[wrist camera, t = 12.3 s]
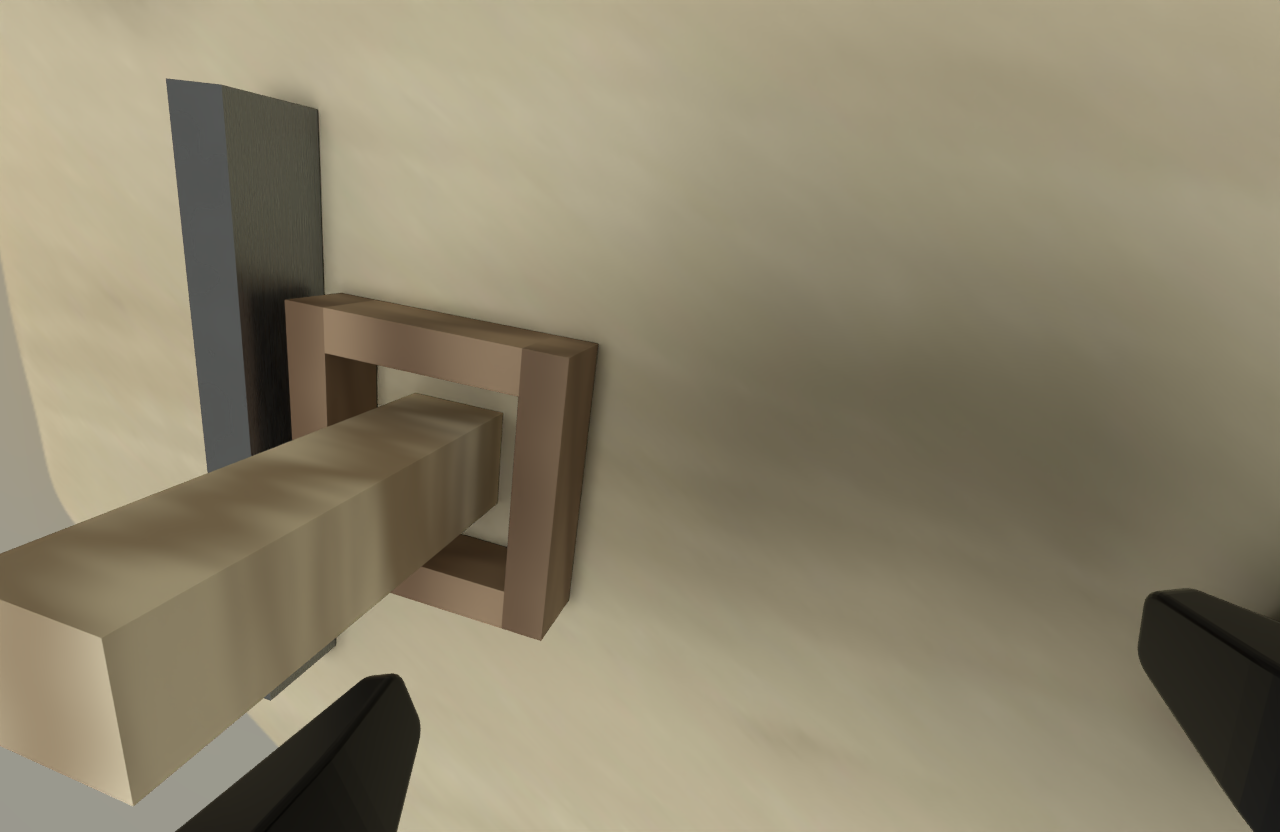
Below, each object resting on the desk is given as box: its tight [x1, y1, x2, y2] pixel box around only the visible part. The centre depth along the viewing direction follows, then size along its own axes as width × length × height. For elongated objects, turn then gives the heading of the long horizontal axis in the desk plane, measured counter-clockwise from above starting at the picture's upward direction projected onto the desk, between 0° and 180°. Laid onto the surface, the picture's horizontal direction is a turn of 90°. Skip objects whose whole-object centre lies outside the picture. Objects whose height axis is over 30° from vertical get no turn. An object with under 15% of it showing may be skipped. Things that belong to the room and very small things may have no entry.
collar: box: [285, 293, 598, 641], centre depth 21 cm, size 10×10×2 cm
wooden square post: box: [0, 393, 503, 806], centre depth 16 cm, size 4×4×13 cm
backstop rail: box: [166, 79, 336, 701], centre depth 22 cm, size 2×22×4 cm, turn 172°
